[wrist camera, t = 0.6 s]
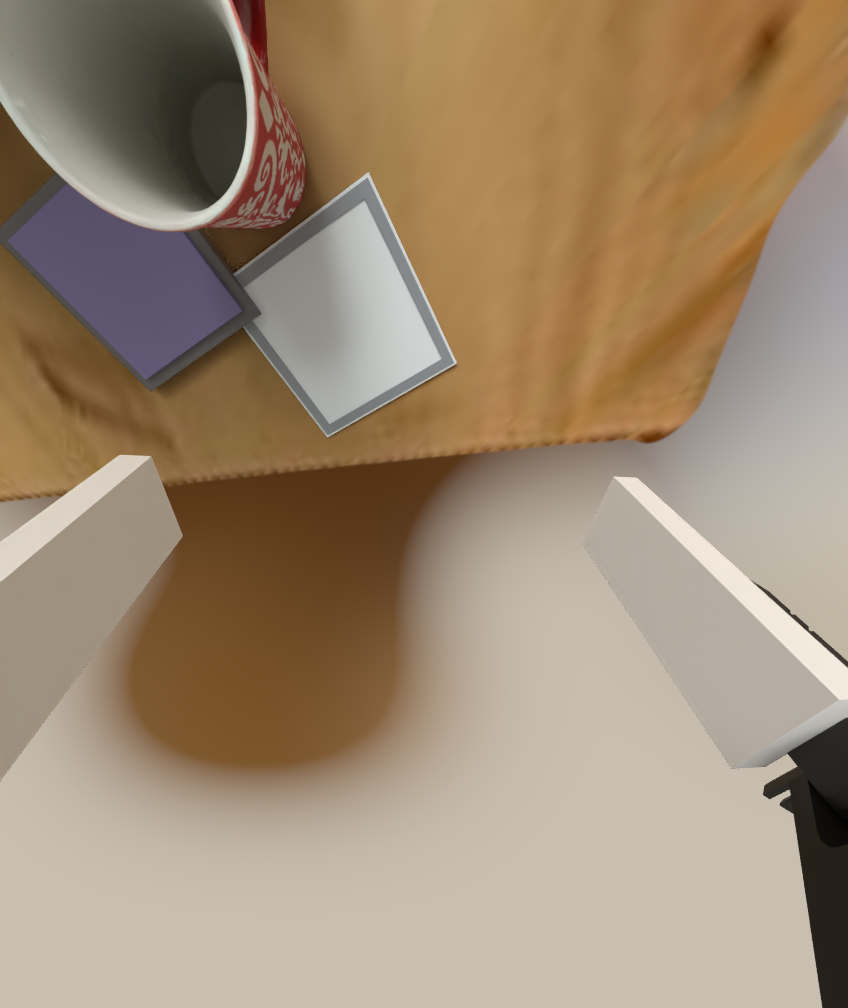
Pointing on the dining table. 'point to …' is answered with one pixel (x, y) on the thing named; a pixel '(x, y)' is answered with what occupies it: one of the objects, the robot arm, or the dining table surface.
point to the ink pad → (129, 281)
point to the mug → (155, 108)
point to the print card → (344, 311)
